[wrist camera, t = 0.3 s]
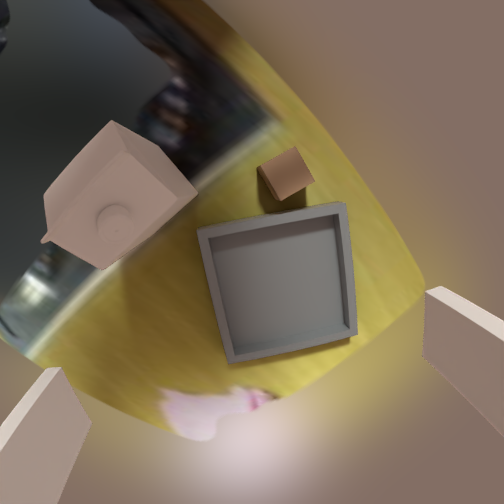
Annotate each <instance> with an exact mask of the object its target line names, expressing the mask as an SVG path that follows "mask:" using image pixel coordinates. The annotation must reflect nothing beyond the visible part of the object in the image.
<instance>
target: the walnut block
mask: <svg viewBox="0 0 504 504" xmlns="http://www.w3.org/2000/svg"><path fill="white" fill-rule="evenodd" d="M257 170H258V171H259V173H260V175H261V176H262V178H263V180H264V181H265V183H266V185H267V187H268V188H269V190H270V192H271V194H272V195H273V197H274V199H276V200H279V201H282V200H283V199H285V198H287V197H289V196H290V195H292V194H294V193H296V192H297V191H299V190H301V189H302V188H304V187H306V186H308V185H309V184H311V183H313V182H315V180H314V178H313V176H312V175H311V173H310V171H309V169H308V167H307V166H306V164H305V162H304V160H303V159H302V157H301V155H300V153H299V152H298V150H297V148H296V147H293V148H291V149H289V150H287V151H286V152H284V153H282V154H280V155H278V156H276V157H275V158H273V159H271V160H269V161H268V162H266V163H264V164H262V165H260V166H259V167H257Z"/></svg>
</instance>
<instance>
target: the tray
mask: <svg viewBox="0 0 504 504" xmlns="http://www.w3.org/2000/svg"><path fill="white" fill-rule="evenodd" d="M196 231H197V236H198V241H199V245H200V250H201V254H202V259H203V263H204V268H205V272H206V276H207V281H208V285H209V289H210V294H211V298H212V302H213V306H214V310H215V314H216V318H217V322H218V326H219V330H220V334H221V338H222V342H223V346H224V350H225V354H226V357H227V361H228V364H232V363H237V362H243V361H248V360H253V359H258V358H263V357H268V356H273V355H278V354H282V353H287V352H291V351H296V350H300V349H304V348H309V347H313V346H317V345H321V344H325V343H329V342H332V341H336V340H340V339H344V338H347V337H351V336H355V335H358V329H357V310H356V295H355V282H354V270H353V260H352V250H351V241H350V232H349V224H348V216H347V209H346V203H344V202H332V203H326V204H320V205H314V206H308V207H303V208H297V209H291V210H286V211H280V212H275V213H269V214H264V215H259V216H253V217H248V218H243V219H238V220H233V221H228V222H223V223H218V224H213V225H208V226H203V227H198V229H197V230H196Z"/></svg>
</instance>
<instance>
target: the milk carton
mask: <svg viewBox="0 0 504 504" xmlns="http://www.w3.org/2000/svg"><path fill="white" fill-rule="evenodd" d="M197 195H198V192H197V191H196V189H195V188H194V187H193V186H192V185H191V184H190V182H189V181H188V180H187V179H186V178H185V177H184V175H183V174H182V173H181V172H180V171H179V170H178V168H177V167H176V166H175V165H174V164H173V163H172V161H171V160H170V159H169V158H168V157H167V156H166V154H165V153H164V152H163V151H162V150H161V149H160V147H159V146H157V145H156V144H154V143H152V142H150V141H148V140H147V139H145V138H143V137H141V136H140V135H138V134H136V133H134V132H132V131H130V130H129V129H127V128H125V127H123V126H121V125H119V124H118V123H116V122H114V121H112V120H111V121H110V122H109V123H108V124H107V125H106V126H105V127H104V128H103V129H102V130H101V131H100V132H99V133H98V134H97V135H96V136H95V137H94V138H93V139H92V140H91V141H90V142H89V143H88V144H87V145H86V146H85V147H84V148H83V149H82V151H80V153H79V154H78V155H77V156H76V157H75V158H74V159H73V160H72V161H71V162H70V164H69V165H68V166H67V167H66V168H65V169H64V171H63V172H62V173H61V174H60V175H59V176H58V178H57V179H56V180H55V181H54V182H53V184H52V185H51V186H50V187H49V189H48V190H47V191H46V192H45V194H44V204H45V212H46V220H47V228H48V232H47V233H46V234H45V236H44V237H43V238H42V240H41V243H42V244H43V243H45V242H48V241H52V242H54V243H55V244H57V245H59V246H60V247H62V248H64V249H65V250H67V251H69V252H71V253H72V254H74V255H76V256H77V257H79V258H81V259H83V260H85V261H86V262H88V263H90V264H92V265H93V266H95V267H97V268H99V269H101V270H104V269H106V268H107V267H109V266H110V265H112V264H113V263H114V262H116V261H117V260H118V259H120V258H121V257H122V256H124V255H125V254H127V253H128V252H129V251H131V250H132V249H133V248H135V247H136V246H138V245H139V244H140V243H142V242H143V241H145V240H146V239H148V238H149V237H150V236H152V235H153V234H154V233H155V232H157V231H158V230H159V229H160V228H161V227H162V226H163V225H164V224H165V223H166V222H167V221H169V220H170V219H171V218H172V217H173V216H174V215H175V214H176V213H177V212H179V211H180V210H181V209H182V208H183V207H184V206H185V205H186V204H188V203H189V202H190V201H191V200H192V199H193V198H194V197H196V196H197Z"/></svg>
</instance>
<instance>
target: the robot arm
mask: <svg viewBox="0 0 504 504" xmlns="http://www.w3.org/2000/svg"><path fill="white" fill-rule="evenodd" d="M423 339H424V340H423V353H422V357H424V358H425V359H426V360H427V361H428V362H429V363H430V364H431V365H432V366H433V367H434V368H435V369H436V370H437V371H438V372H439V373H440V374H441V375H442V376H443V377H444V378H445V379H447V381H448V382H449V383H451V384H452V386H454V387H455V388H456V389H457V390H458V391H459V392H460V393H461V394H462V395H463V396H464V397H465V398H466V399H467V400H468V401H469V402H470V403H471V404H472V405H473V406H474V407H475V408H476V409H477V410H478V411H479V412H480V413H481V414H482V415H483V416H484V417H485V418H486V420H487V421H488V422H489V423H490V424H491V425H492V426H493V427H494V428H495V429H496V430H497V431H498V432H499V433H500V434H501V435H502V436H503V437H504V321H503V320H501V319H499V318H498V317H496V316H494V315H492V314H491V313H489V312H487V311H486V310H484V309H482V308H480V307H478V306H477V305H475V304H473V303H472V302H470V301H468V300H466V299H464V298H462V297H461V296H459V295H457V294H455V293H453V292H452V291H450V290H448V289H446V288H444V287H442V286H439V287H436V288H433V289H431V290H428V291H425V319H424V338H423ZM91 425H92V422H91V420H90V419H89V417H88V415H87V414H86V412H85V410H84V409H83V407H82V405H81V403H80V401H79V400H78V398H77V397H76V394H75V392H74V391H73V389H72V387H71V385H70V383H69V381H68V379H67V377H66V375H65V373H64V371H63V369H62V367H55V368H46V369H45V371H44V372H43V373H42V374H41V375H40V377H39V378H38V379H37V380H36V382H35V383H34V384H33V385H32V387H31V388H30V389H29V390H28V392H27V393H26V394H25V395H24V397H23V398H22V399H21V400H20V402H19V403H18V404H17V406H16V407H15V408H14V409H13V411H12V412H11V413H10V415H9V416H8V417H7V419H6V420H5V421H4V423H3V424H2V425H1V427H0V504H57V503H58V501H59V498H60V496H61V493H62V491H63V488H64V485H65V483H66V481H67V479H68V476H69V474H70V472H71V469H72V467H73V465H74V462H75V460H76V458H77V455H78V453H79V451H80V449H81V447H82V444H83V442H84V440H85V438H86V436H87V434H88V431H89V429H90V427H91Z"/></svg>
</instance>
